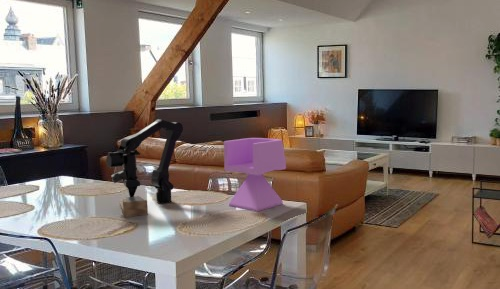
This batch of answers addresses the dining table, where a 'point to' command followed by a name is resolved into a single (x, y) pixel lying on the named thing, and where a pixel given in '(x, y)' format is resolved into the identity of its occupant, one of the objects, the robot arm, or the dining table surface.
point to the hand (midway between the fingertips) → (131, 198)
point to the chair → (254, 170)
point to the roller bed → (122, 204)
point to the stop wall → (135, 208)
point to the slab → (133, 198)
